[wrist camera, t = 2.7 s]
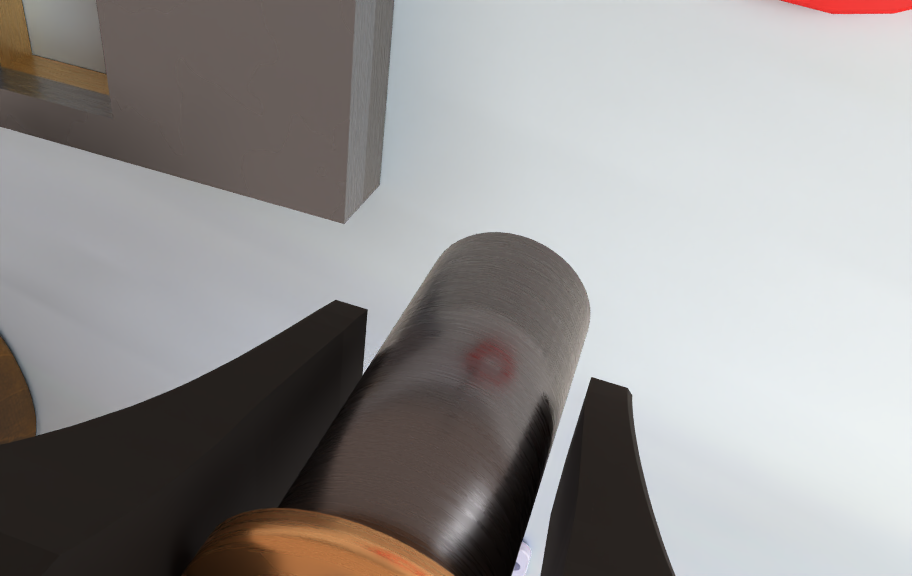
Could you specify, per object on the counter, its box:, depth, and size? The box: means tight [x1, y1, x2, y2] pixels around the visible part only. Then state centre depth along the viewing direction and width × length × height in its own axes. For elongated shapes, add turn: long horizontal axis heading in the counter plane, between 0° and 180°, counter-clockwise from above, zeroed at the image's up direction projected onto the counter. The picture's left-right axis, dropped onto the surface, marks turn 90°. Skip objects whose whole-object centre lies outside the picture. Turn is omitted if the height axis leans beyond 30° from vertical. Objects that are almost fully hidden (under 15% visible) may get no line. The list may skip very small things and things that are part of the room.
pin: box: [181, 232, 590, 576], centre depth 12 cm, size 4×4×8 cm
